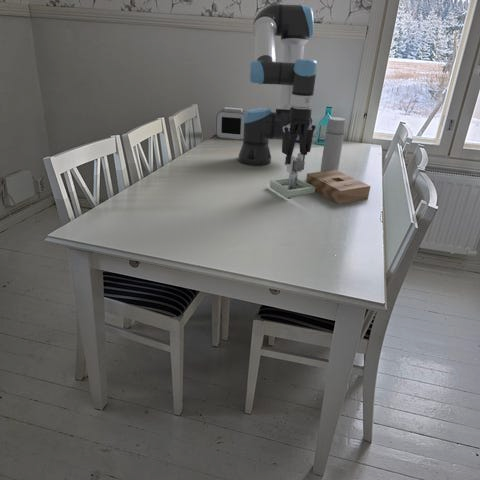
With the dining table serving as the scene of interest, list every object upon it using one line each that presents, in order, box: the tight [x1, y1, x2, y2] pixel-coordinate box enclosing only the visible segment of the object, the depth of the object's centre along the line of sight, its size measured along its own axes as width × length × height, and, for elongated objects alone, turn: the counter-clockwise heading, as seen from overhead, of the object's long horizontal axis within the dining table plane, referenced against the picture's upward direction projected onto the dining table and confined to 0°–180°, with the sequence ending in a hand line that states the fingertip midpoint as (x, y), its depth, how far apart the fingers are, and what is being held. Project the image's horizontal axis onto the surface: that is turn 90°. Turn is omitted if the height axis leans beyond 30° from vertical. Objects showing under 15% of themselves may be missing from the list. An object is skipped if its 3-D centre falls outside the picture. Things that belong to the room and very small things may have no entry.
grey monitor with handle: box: [215, 106, 248, 141], centre depth 231 cm, size 16×11×16 cm
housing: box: [305, 170, 371, 205], centre depth 158 cm, size 20×14×6 cm
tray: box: [269, 176, 316, 200], centre depth 160 cm, size 13×12×3 cm
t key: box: [284, 156, 305, 190], centre depth 158 cm, size 3×8×12 cm, turn 29°
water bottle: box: [319, 116, 347, 172], centre depth 170 cm, size 9×8×25 cm
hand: (293, 171), depth 157 cm, fingers open, 4 cm apart
